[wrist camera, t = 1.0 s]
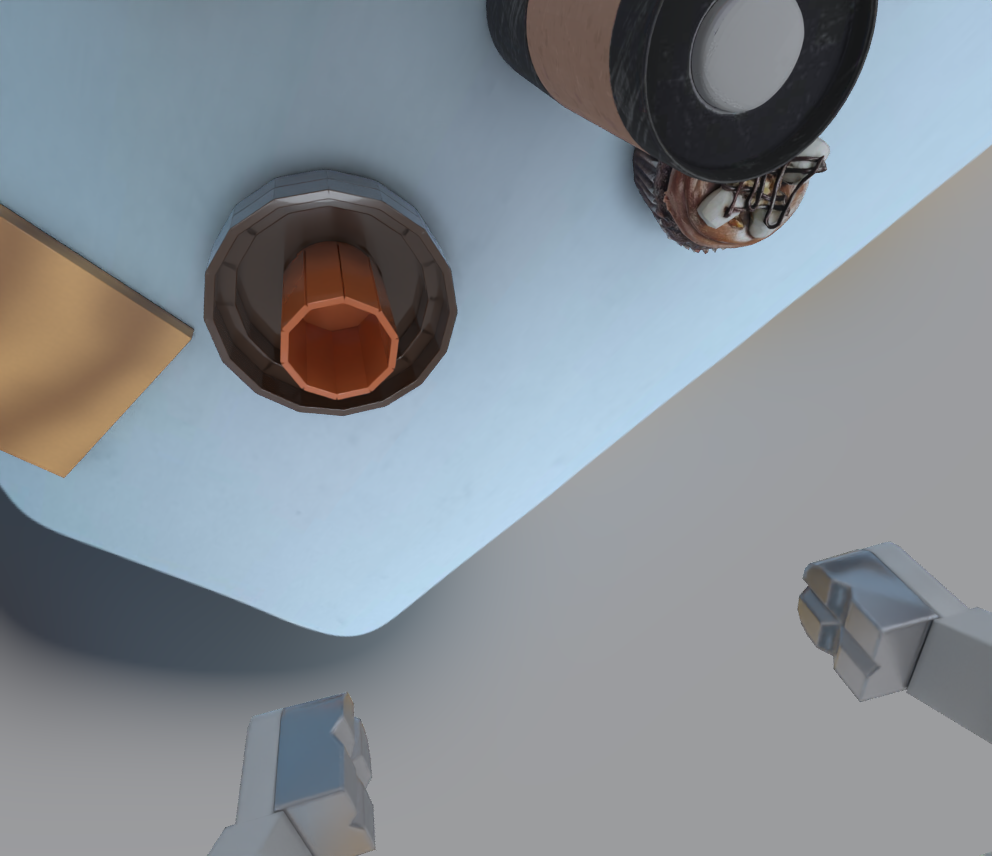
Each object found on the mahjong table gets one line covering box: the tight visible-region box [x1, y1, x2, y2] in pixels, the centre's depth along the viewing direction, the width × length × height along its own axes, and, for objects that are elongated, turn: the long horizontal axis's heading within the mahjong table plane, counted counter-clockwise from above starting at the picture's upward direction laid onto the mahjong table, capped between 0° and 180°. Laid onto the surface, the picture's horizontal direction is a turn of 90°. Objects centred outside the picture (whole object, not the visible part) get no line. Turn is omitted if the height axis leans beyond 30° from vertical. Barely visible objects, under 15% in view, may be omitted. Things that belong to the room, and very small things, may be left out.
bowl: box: [204, 169, 457, 416], centre depth 38 cm, size 14×14×4 cm
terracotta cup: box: [280, 241, 399, 400], centre depth 36 cm, size 6×6×8 cm
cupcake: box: [633, 137, 830, 254], centre depth 37 cm, size 10×10×10 cm
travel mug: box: [486, 0, 878, 184], centre depth 26 cm, size 8×8×20 cm
